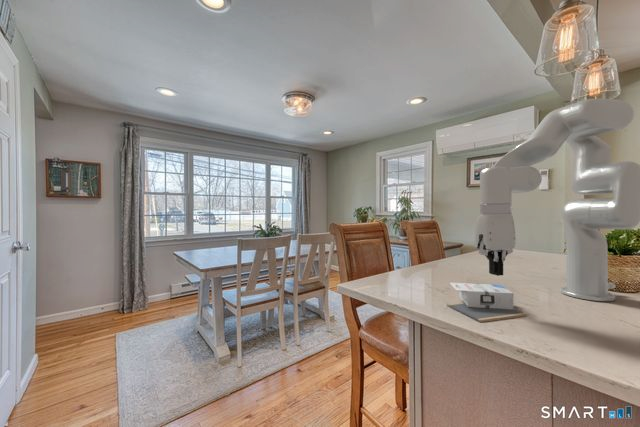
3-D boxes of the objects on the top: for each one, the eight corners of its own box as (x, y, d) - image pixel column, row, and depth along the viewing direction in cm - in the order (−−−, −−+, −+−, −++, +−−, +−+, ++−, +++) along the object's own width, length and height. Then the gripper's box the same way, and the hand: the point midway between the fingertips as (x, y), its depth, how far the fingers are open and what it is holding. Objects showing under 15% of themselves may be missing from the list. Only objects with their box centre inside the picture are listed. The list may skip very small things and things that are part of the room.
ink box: (500, 300, 83) (449, 297, 86) (500, 284, 83) (449, 282, 86) (514, 310, 75) (456, 307, 78) (514, 293, 74) (456, 290, 78)
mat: (488, 301, 83) (488, 299, 83) (526, 316, 72) (526, 314, 72) (447, 306, 80) (447, 304, 80) (479, 322, 68) (479, 320, 68)
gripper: (504, 210, 82) (505, 270, 82) (463, 211, 78) (464, 273, 79) (529, 210, 74) (529, 275, 75) (484, 211, 71) (485, 279, 71)
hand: (496, 274), depth 77 cm, fingers closed
